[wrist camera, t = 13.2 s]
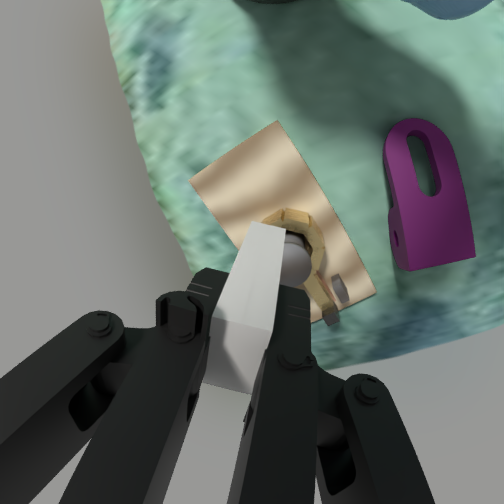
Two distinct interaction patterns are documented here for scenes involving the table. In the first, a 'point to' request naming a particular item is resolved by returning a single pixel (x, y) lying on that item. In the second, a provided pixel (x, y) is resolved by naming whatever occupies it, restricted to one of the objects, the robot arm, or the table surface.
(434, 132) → the mounting bracket
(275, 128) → the base
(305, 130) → the table surface
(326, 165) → the table surface
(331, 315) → the collar
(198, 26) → the table surface
